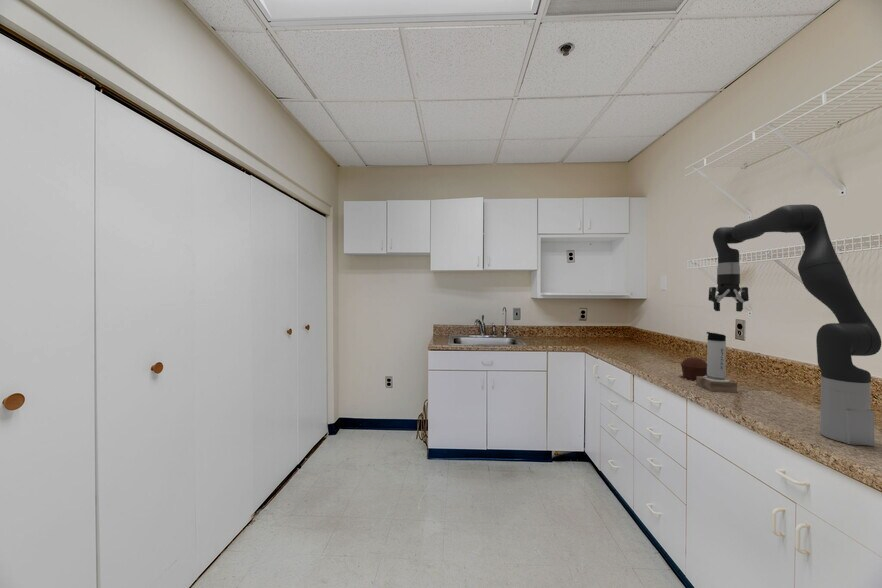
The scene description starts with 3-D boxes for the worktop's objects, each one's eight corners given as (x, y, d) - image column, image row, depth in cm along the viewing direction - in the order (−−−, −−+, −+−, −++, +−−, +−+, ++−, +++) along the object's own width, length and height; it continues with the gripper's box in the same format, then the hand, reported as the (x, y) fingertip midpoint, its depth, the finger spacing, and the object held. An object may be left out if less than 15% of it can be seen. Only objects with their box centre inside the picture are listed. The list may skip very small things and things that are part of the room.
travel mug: (706, 375, 152) (706, 331, 152) (725, 378, 148) (725, 332, 147) (705, 378, 147) (706, 332, 147) (725, 381, 143) (726, 333, 142)
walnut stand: (737, 392, 142) (737, 381, 142) (710, 391, 143) (711, 380, 143) (720, 385, 152) (720, 375, 152) (696, 384, 153) (696, 375, 153)
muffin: (709, 383, 156) (709, 361, 156) (680, 379, 163) (680, 358, 163) (708, 378, 165) (709, 357, 165) (681, 374, 172) (681, 355, 172)
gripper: (716, 273, 142) (716, 311, 142) (753, 273, 140) (753, 312, 140) (704, 274, 150) (704, 310, 149) (739, 274, 148) (739, 311, 148)
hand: (728, 311), depth 145 cm, fingers open, 8 cm apart
